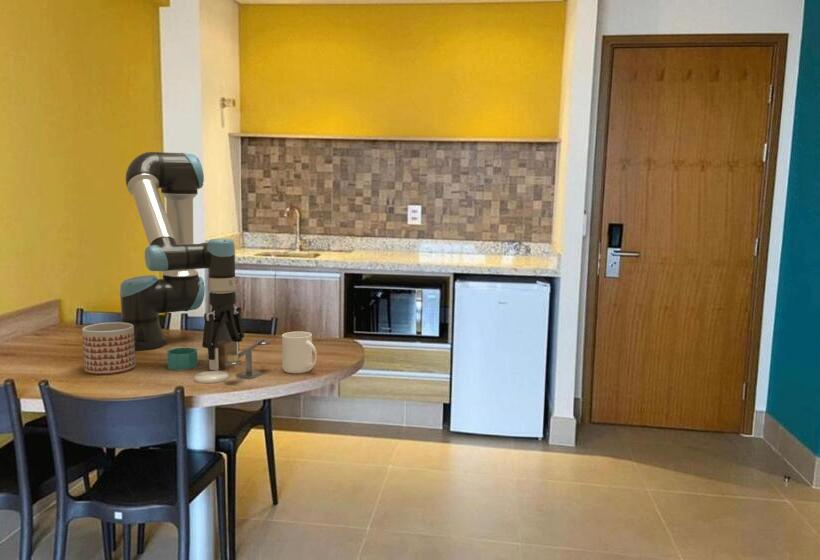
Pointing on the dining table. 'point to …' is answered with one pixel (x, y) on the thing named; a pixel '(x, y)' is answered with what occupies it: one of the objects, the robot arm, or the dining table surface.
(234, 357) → the balance
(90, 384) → the dining table surface
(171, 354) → the collar
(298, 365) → the mug
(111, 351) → the planter
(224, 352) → the block
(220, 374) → the dish
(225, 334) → the bottle
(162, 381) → the dining table surface
